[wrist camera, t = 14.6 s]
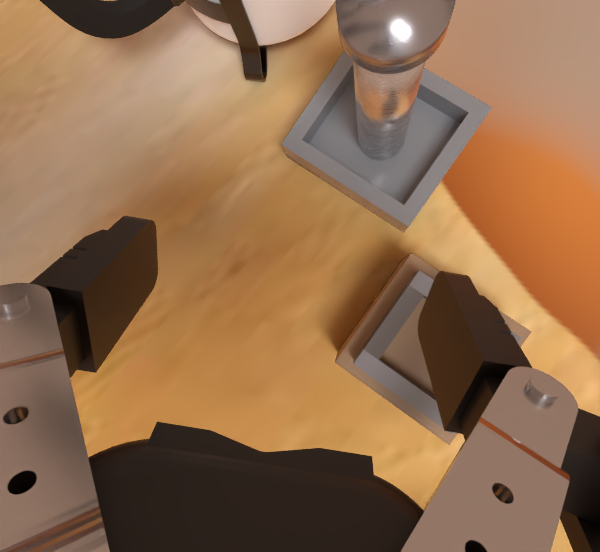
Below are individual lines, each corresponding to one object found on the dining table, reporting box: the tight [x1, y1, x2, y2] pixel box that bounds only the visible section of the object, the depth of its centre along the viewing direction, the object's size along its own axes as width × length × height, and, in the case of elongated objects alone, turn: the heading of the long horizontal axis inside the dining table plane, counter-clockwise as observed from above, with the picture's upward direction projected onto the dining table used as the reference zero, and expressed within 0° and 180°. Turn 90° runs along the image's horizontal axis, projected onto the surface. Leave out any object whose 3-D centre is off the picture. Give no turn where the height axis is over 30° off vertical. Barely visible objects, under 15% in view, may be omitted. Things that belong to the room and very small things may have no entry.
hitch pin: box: [336, 0, 455, 161], centre depth 21 cm, size 4×4×13 cm
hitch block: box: [335, 253, 531, 445], centre depth 24 cm, size 8×8×6 cm
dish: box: [281, 51, 492, 233], centre depth 27 cm, size 10×9×2 cm
